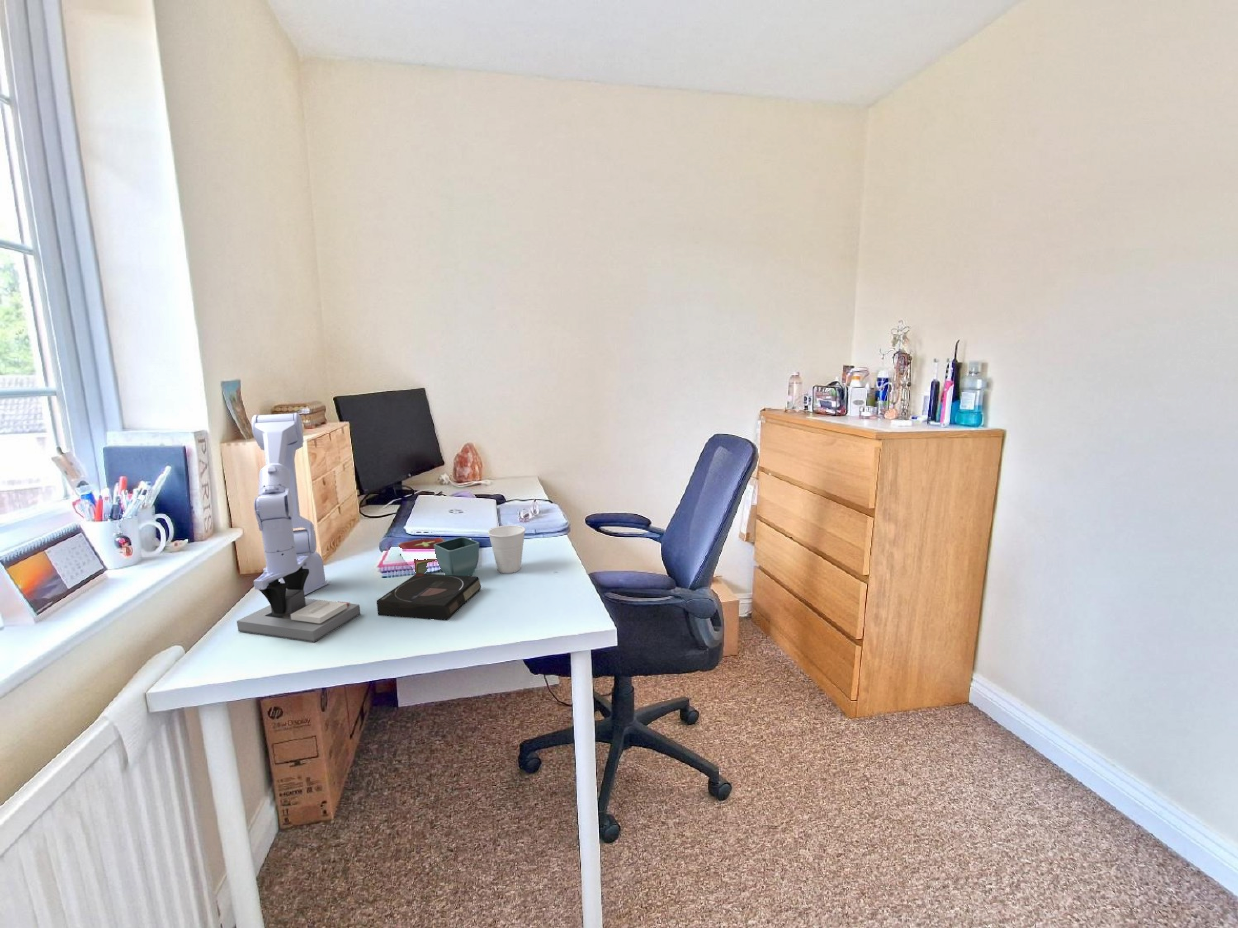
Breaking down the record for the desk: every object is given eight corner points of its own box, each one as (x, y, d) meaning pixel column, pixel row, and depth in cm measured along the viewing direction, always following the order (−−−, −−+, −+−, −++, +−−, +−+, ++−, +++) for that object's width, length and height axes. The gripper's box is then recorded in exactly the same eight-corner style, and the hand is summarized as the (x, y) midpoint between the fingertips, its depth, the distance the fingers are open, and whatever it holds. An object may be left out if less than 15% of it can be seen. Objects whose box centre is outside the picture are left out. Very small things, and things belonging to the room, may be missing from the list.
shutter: (319, 604, 124) (318, 597, 123) (347, 607, 122) (346, 600, 121) (291, 619, 117) (290, 611, 116) (320, 623, 114) (319, 615, 114)
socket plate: (289, 605, 130) (288, 593, 129) (360, 614, 124) (359, 601, 124) (238, 631, 118) (236, 618, 117) (314, 642, 112) (312, 628, 112)
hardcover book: (417, 577, 147) (415, 562, 146) (398, 556, 164) (397, 542, 163) (461, 567, 153) (460, 552, 152) (439, 547, 170) (438, 534, 170)
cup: (495, 563, 154) (493, 525, 152) (531, 562, 154) (529, 524, 152) (485, 576, 145) (483, 536, 143) (523, 576, 144) (521, 535, 142)
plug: (306, 610, 124) (303, 588, 123) (292, 619, 119) (289, 597, 118) (287, 609, 124) (284, 588, 123) (272, 619, 120) (269, 596, 119)
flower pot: (435, 576, 146) (432, 543, 144) (465, 567, 152) (463, 535, 150) (451, 585, 140) (448, 551, 138) (482, 575, 146) (480, 542, 144)
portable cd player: (448, 622, 120) (447, 605, 120) (378, 617, 124) (376, 600, 123) (481, 592, 136) (480, 576, 136) (418, 588, 140) (417, 573, 139)
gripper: (285, 537, 126) (293, 593, 129) (236, 559, 112) (246, 622, 115) (314, 537, 126) (322, 594, 128) (268, 560, 111) (278, 623, 114)
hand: (288, 607), depth 121 cm, fingers closed on plug, 5 cm apart
